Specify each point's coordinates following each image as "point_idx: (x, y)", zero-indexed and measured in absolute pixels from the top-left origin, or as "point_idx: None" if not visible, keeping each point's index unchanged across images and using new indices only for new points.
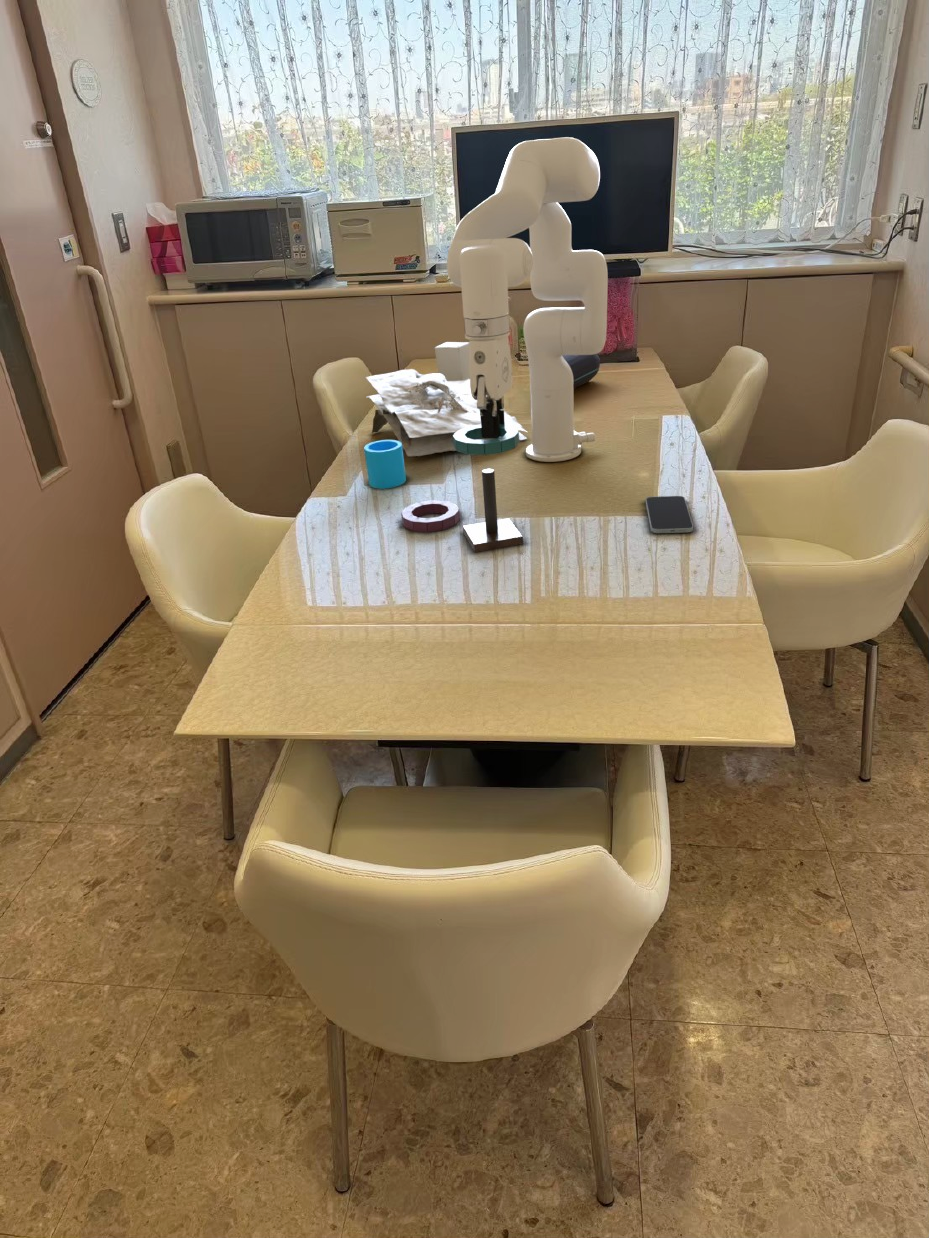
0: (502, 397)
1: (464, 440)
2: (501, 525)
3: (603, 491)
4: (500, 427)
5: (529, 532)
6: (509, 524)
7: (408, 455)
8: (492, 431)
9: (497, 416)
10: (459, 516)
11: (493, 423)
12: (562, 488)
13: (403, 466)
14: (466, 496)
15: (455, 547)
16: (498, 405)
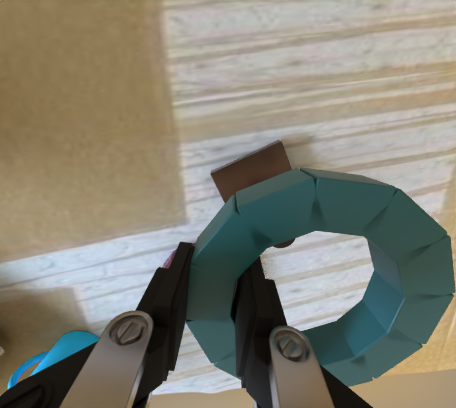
0: (99, 397)
1: (389, 358)
2: (239, 181)
3: (35, 9)
4: (239, 266)
5: (235, 136)
6: (235, 169)
7: (2, 352)
8: (274, 287)
9: (273, 318)
10: (194, 245)
11: (273, 308)
12: (42, 101)
13: (62, 351)
14: (111, 249)
15: None
16: (149, 358)
